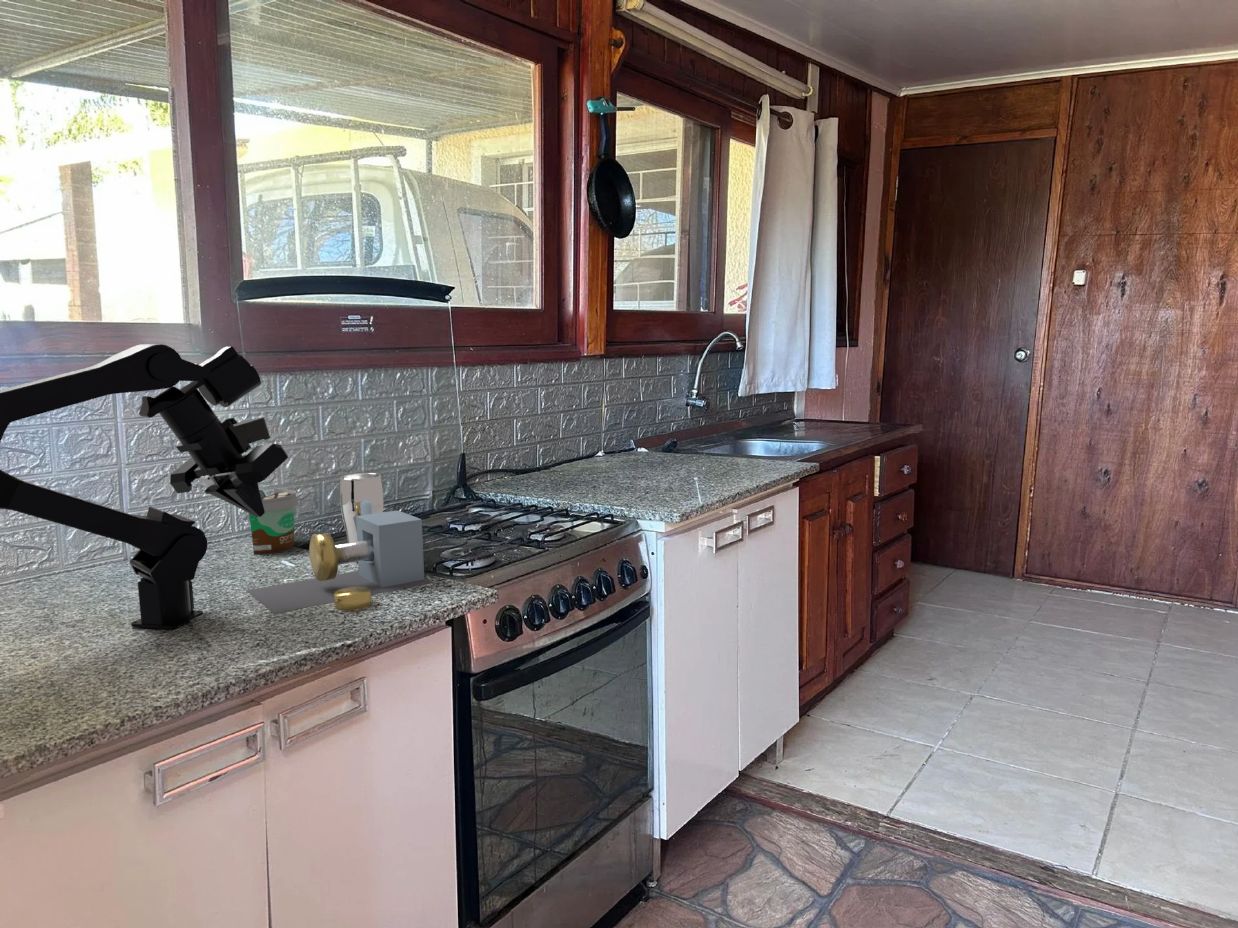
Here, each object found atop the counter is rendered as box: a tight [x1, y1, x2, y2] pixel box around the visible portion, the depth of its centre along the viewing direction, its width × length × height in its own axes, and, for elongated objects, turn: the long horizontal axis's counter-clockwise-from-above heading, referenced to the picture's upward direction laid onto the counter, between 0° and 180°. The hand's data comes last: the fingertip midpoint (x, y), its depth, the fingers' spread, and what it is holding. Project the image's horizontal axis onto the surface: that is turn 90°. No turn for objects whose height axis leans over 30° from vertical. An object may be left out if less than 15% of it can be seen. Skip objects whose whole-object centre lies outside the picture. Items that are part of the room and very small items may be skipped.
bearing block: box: [356, 510, 425, 587], centre depth 137 cm, size 7×9×10 cm
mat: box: [246, 570, 434, 615], centre depth 133 cm, size 24×14×1 cm, turn 128°
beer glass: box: [339, 472, 384, 566], centre depth 147 cm, size 7×7×15 cm
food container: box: [248, 488, 299, 556], centre depth 158 cm, size 12×6×10 cm, turn 179°
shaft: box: [309, 532, 374, 581], centre depth 134 cm, size 15×7×7 cm, turn 128°
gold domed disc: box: [334, 587, 373, 612], centre depth 123 cm, size 5×5×2 cm
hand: (261, 515), depth 126 cm, fingers closed
